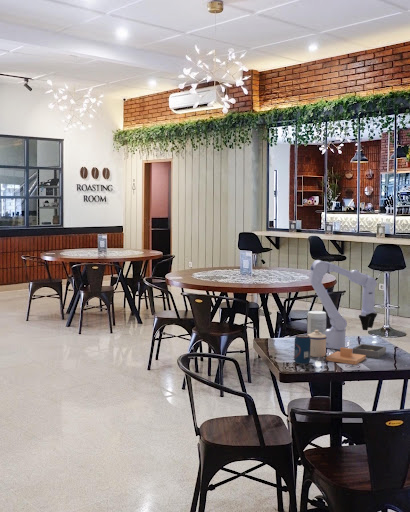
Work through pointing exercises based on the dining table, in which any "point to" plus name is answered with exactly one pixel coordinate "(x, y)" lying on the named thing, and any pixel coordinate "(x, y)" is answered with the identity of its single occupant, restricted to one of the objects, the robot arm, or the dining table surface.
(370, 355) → the parts tub
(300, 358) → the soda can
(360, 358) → the lid
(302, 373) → the dining table surface
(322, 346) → the teacup with lid
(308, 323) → the supplement tub
